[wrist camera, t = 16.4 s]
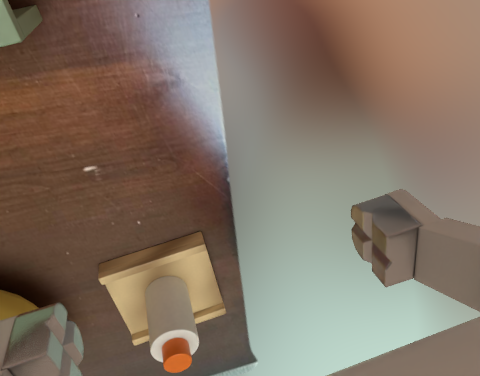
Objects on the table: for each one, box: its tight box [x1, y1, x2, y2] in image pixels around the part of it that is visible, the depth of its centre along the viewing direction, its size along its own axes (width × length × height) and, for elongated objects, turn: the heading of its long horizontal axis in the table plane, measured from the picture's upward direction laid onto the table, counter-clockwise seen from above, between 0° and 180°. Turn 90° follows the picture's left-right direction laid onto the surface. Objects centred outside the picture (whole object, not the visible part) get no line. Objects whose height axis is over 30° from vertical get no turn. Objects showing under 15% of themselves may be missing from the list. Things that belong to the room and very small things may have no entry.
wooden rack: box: [99, 231, 226, 345], centre depth 48 cm, size 12×12×2 cm
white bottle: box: [145, 276, 199, 373], centre depth 43 cm, size 5×5×10 cm
